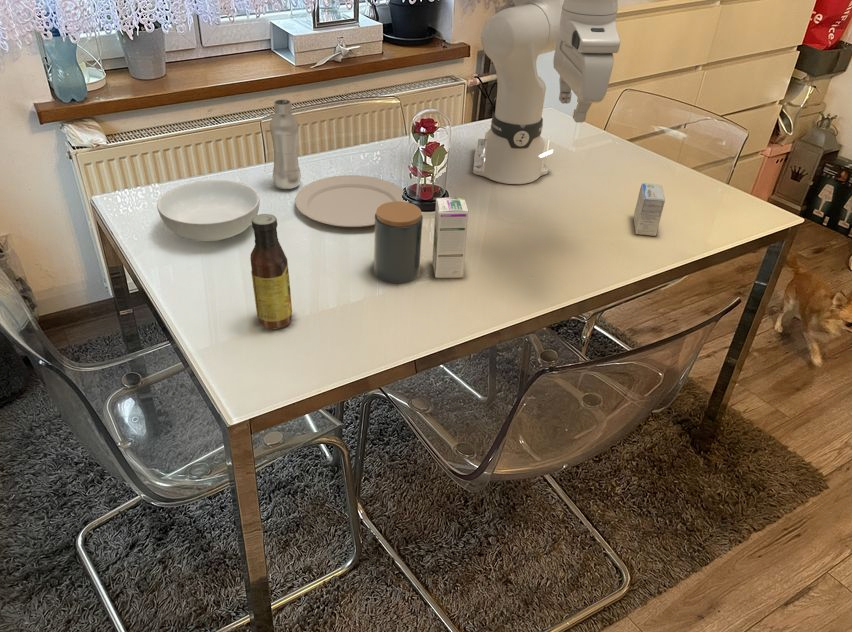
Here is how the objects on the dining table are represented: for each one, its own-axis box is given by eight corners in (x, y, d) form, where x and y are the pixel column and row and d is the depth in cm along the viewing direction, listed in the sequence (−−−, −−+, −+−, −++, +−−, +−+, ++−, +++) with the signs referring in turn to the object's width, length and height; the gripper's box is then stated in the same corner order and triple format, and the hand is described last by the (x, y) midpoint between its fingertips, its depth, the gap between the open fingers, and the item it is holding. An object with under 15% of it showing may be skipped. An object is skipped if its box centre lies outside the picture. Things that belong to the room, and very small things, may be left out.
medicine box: (655, 237, 158) (666, 200, 153) (634, 234, 159) (644, 197, 153) (652, 220, 164) (662, 184, 159) (632, 218, 165) (641, 182, 160)
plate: (332, 174, 180) (332, 166, 178) (427, 198, 170) (427, 190, 169) (273, 216, 161) (272, 208, 160) (375, 245, 152) (375, 236, 151)
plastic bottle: (267, 185, 174) (261, 101, 162) (291, 178, 177) (286, 95, 165) (283, 195, 170) (278, 109, 158) (307, 187, 174) (303, 102, 162)
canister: (372, 259, 148) (373, 200, 140) (417, 259, 148) (420, 200, 140) (375, 283, 141) (376, 223, 133) (421, 283, 141) (425, 222, 133)
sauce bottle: (299, 323, 130) (292, 222, 117) (267, 335, 127) (257, 232, 115) (281, 306, 134) (273, 207, 122) (250, 316, 131) (239, 216, 119)
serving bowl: (256, 203, 166) (254, 175, 162) (267, 248, 150) (264, 218, 146) (162, 211, 162) (156, 182, 158) (162, 258, 146) (156, 228, 142)
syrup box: (463, 278, 143) (470, 210, 134) (433, 278, 143) (438, 210, 134) (459, 263, 147) (466, 196, 139) (430, 263, 147) (435, 196, 138)
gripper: (551, 12, 129) (539, 91, 137) (584, 44, 112) (568, 132, 121) (587, 12, 129) (573, 92, 137) (624, 45, 113) (605, 132, 121)
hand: (571, 111), depth 129 cm, fingers open, 8 cm apart
